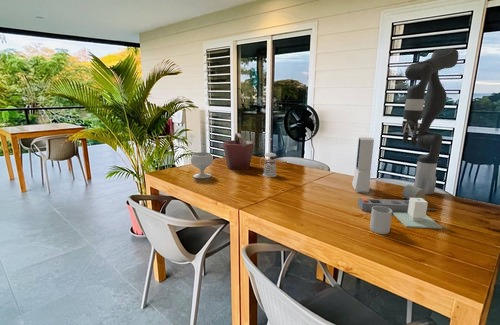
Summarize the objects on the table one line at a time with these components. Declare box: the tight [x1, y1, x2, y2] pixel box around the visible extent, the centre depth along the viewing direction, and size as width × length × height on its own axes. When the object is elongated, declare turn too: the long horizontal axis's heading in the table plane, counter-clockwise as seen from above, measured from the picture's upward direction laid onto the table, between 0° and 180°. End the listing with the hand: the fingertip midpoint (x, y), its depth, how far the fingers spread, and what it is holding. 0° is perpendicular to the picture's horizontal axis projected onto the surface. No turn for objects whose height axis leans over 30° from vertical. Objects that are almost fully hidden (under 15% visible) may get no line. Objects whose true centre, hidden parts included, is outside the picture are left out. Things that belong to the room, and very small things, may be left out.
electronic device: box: [352, 136, 375, 194], centre depth 158 cm, size 12×8×30 cm, turn 168°
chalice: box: [190, 151, 214, 180], centre depth 184 cm, size 14×14×15 cm
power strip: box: [357, 198, 436, 213], centre depth 133 cm, size 34×7×4 cm, turn 85°
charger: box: [408, 198, 429, 221], centre depth 121 cm, size 5×5×9 cm
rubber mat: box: [392, 212, 443, 229], centre depth 122 cm, size 14×14×1 cm
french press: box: [259, 137, 278, 178], centre depth 188 cm, size 10×12×25 cm
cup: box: [369, 206, 393, 235], centre depth 113 cm, size 7×10×9 cm
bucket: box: [222, 132, 254, 171], centre depth 208 cm, size 24×22×25 cm
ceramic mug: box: [401, 184, 426, 200], centre depth 145 cm, size 11×8×8 cm
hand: (408, 143), depth 134 cm, fingers open, 8 cm apart
